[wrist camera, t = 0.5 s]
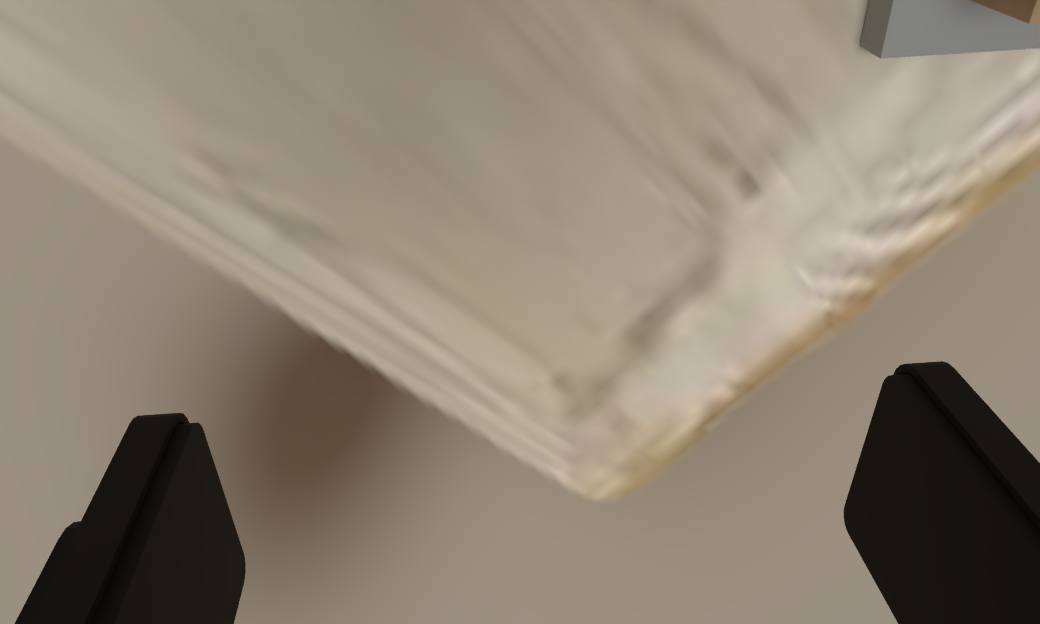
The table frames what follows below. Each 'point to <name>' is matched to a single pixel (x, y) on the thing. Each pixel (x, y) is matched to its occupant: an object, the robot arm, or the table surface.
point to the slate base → (942, 28)
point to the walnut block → (1015, 8)
